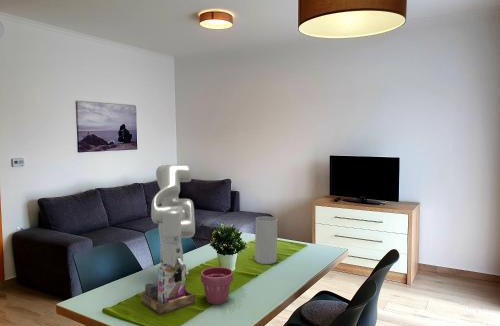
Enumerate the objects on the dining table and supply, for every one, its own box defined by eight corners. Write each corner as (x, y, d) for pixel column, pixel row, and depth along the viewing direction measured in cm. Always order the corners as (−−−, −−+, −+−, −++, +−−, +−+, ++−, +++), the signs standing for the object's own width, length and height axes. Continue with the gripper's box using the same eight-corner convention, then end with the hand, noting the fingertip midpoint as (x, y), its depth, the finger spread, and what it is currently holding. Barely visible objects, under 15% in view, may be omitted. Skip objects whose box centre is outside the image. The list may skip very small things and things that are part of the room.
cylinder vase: (262, 256, 237) (263, 215, 235) (280, 260, 229) (281, 218, 228) (250, 261, 227) (251, 219, 225) (268, 266, 219) (269, 222, 217)
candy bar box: (163, 308, 162) (163, 269, 161) (157, 304, 166) (157, 266, 165) (186, 301, 170) (186, 264, 169) (179, 297, 174) (179, 261, 172)
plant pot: (203, 292, 181) (203, 265, 181) (233, 293, 181) (234, 266, 180) (198, 306, 167) (198, 277, 166) (231, 307, 167) (231, 278, 166)
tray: (175, 292, 182) (175, 275, 181) (195, 303, 170) (195, 285, 169) (141, 302, 170) (141, 284, 170) (159, 315, 158) (159, 296, 158)
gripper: (190, 241, 162) (190, 282, 163) (169, 233, 175) (169, 271, 176) (175, 245, 157) (175, 286, 158) (153, 236, 170) (154, 274, 171)
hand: (171, 278), depth 167 cm, fingers open, 9 cm apart
